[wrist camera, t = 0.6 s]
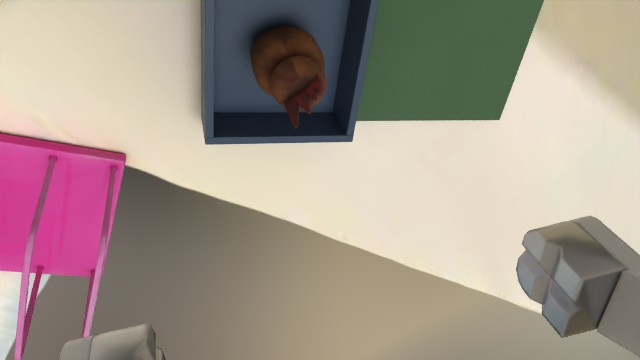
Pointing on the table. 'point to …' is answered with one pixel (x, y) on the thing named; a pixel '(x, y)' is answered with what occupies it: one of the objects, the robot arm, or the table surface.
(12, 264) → the file sorter
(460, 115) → the mat
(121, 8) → the table surface
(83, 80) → the table surface
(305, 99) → the wooden figurine
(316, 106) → the tray
